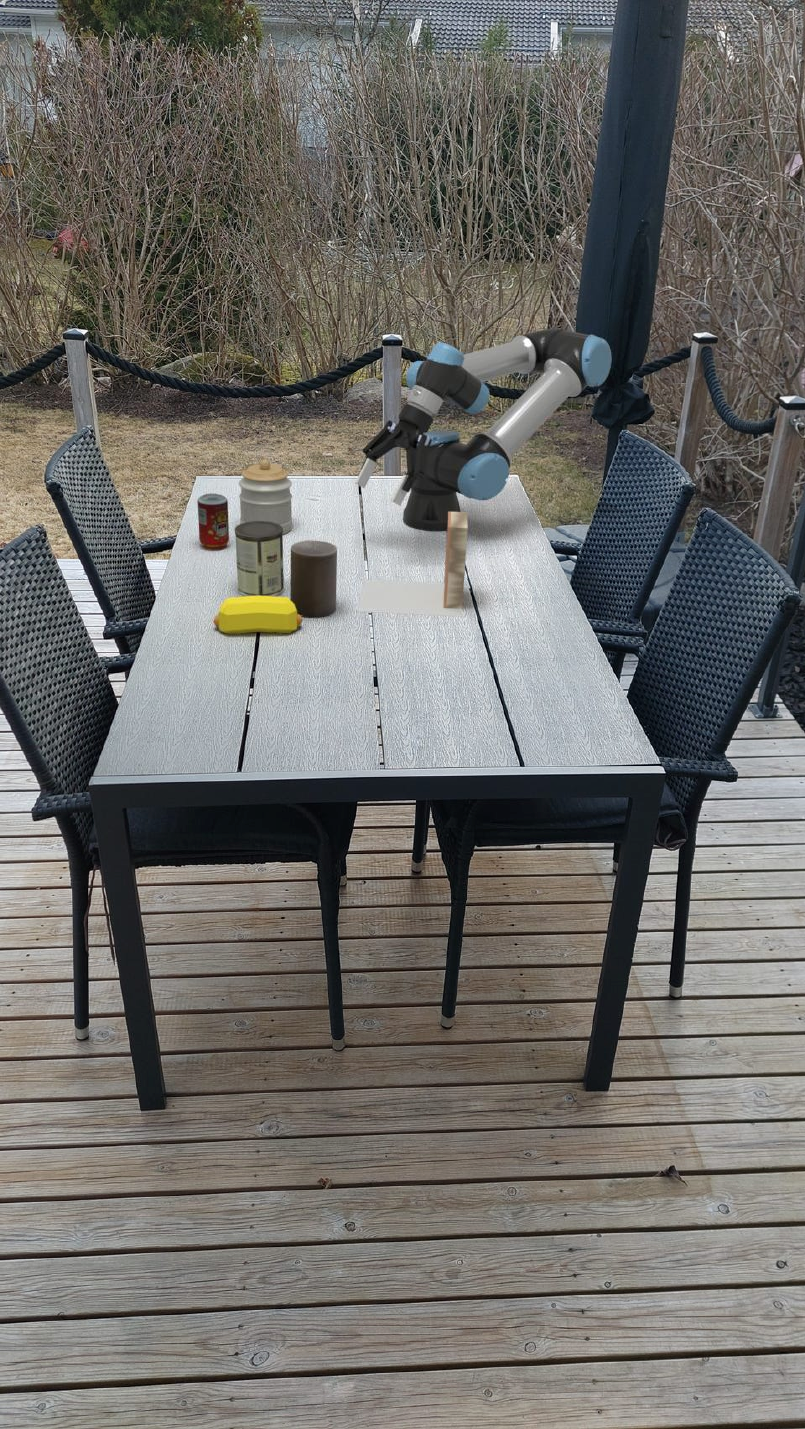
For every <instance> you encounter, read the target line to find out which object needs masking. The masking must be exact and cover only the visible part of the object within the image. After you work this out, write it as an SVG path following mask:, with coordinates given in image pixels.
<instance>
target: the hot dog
mask: <svg viewBox="0 0 805 1429" xmlns="http://www.w3.org/2000/svg"><path fill="white" fill-rule="evenodd" d="M212 621H213V624H214V625H215V627H216V628H218V629H219V631H220V632H222V633H223V634H229V635H232V634H234V635H235V634H248V633H272V632H273V633H274V632H278V634H289V632H290V633H292V632H294V631H297V628H298V627H299V626H301V625H302V622H303V618H302V616H301V615H299V614H297V610H296V607H295V604H294V603H293V602H292V601H291V600H290V598H289V597H287V596H286V597H285V596H275V597H274V596H235V597H227V598H226V599H225V600H224V601H223V602H222V603H221V604H220V606H219V610H218V613H217V615H215V616H214V619H213V620H212ZM273 633H272V634H273Z"/></svg>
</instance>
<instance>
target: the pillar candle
mask: <svg viewBox="0 0 805 1429" xmlns="http://www.w3.org/2000/svg"><path fill="white" fill-rule="evenodd" d="M337 567H338V547H337V545H335V544H332V543H331V542H328V541H322V540H313V539H312V540H311V539H307V540H302V541H297V542H295V543H293V544H292V545H291V547H290V580H289V581H290V583H289V584H290V595H289V596H290V598H289V599H290V600H291V601H292V602H293V603H294V604H295V607H296V610H297V614H299V615H300V616H301V617H305V618H309V619H311V618H315V619H316V618H324V617H328V616H332V615H333V614H334V613H335V612H336V610H337V581H338V580H337V579H338V578H337V577H338V576H337V574H338V573H337V571H338V569H337Z"/></svg>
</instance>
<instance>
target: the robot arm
mask: <svg viewBox="0 0 805 1429" xmlns="http://www.w3.org/2000/svg"><path fill="white" fill-rule="evenodd" d="M611 364H612V351H611V348H610V345H609V343H608V342H607V340H606V339H604V338H602V337H598V336H596V335H594V334H586V333H580V332H578V331H577V332H576V331H572V330H569V329H566V328H565V329H564V328H560V327H558V328H556V327H554V328H545V329H541V330H536V331H533V332H529V333H523V334H520V335H517V336H515V337H514V338H512V340H511V341H510V342H507V343H502V344H498V345H496V346H492V347H487V348H484V349H479V350H476V351H472V352H468V353H464V354H463V353H462V351H460V349H457V348H455V346H452V345H451V344H449V343H445V342H439V341H438V342H437V343H435V345H434V346H433V348H432V350H431V351H430V353H429V355H428V356H427V357H426V360H423V361H421V360H417V361H414V362H413V363H411V364H410V365H409V367H408V369H407V370H406V375H405V379H406V384H407V387H408V389H409V390H410V393H409V395H408V397H407V398H406V402H407V403H405V404H403V406H402V409H400V410H401V411H400V413H399V414H398V422H397V424H396V423H395V422H393V421H391V420H388V421H386V423H385V425H384V427H383V428H382V429H381V430H380V431H379V432H378V433H377V434H376V436H374V437H373V438H372V440H370V441H369V443H368V444H366V445H365V446H364V448H363V449H362V453H363V454H364V455H365V460H364V461H363V463H362V466H361V467H360V472H359V474H358V476H357V478H356V480H355V482H354V484H355V485H357V486H359V487H361V488H363V489H365V488H366V486H367V484H368V482H369V480H370V478H371V476H372V475H373V472H374V470H375V469H376V467H377V464H378V461H377V460H379V459H380V458H382V457H383V456H384V455H385V454H387V453H389V452H390V451H391V450H393V449H395V448H400V449H404V450H405V455H406V458H405V459H406V470H407V471H406V472H405V473H404V474H403V476H402V478H401V479H400V482H399V484H398V485H397V487H396V488H395V492H394V493H393V495H392V498H391V500H390V501H391V502H393V503H394V504H396V505H398V506H400V507H401V506H402V503H403V502H404V500H405V497H406V496H407V494H408V493H409V492H410V493H409V496H408V499H407V502H406V505H405V508H404V509H403V513H402V521H403V522H404V524H405V525H407V526H409V527H411V528H414V529H418V530H423V531H434V532H435V531H437V532H438V531H447V523H448V512H462V511H461V506H460V502H459V500H458V495H457V494H459V495H463V496H464V497H466V498H468V499H473V500H477V501H489V500H491V499H494V498H495V497H496V496H498V495H499V494H500V493H501V492H502V491H503V489H504V488H505V487H506V485H507V479H509V476H510V468H511V466H512V460H511V458H512V457H513V456H514V455H515V454H516V453H517V452H518V451H519V450H520V448H522V446H524V444H525V443H526V442H527V441H529V439H530V438H531V436H533V435H534V434H535V433H536V432H537V431H538V429H539V428H540V427H542V426H543V424H544V423H545V422H546V421H547V420H548V419H549V417H551V416H552V415H553V414H554V413H555V411H556V410H557V409H558V408H559V407H560V406H561V405H562V404H563V403H564V402H565V401H566V400H567V399H568V397H571V398H574V397H578V396H579V395H580V394H581V393H582V392H583V391H584V389H585V388H586V387H588V386H589V387H591V388H594V387H599V386H601V385H602V384H603V383H604V382H605V381H606V380H607V378H608V376H609V374H610V370H611V367H612V366H611ZM515 373H519V374H521V375H527V374H532V373H538V374H541V375H540V376H539V377H538V378H537V379H536V380H535V381H534V382H533V383H532V385H531V386H530V387H528V389H527V390H526V391H524V392H523V394H522V395H521V396H520V397H519V398H518V399H517V400H516V401H515V402H514V403H513V404H512V405H511V406H510V407H509V408H508V409H507V411H505V413H504V414H502V416H501V417H500V418H499V419H498V420H497V421H495V423H494V424H493V425H492V426H491V427H490V428H489V429H488V430H487V431H486V432H477V433H476V434H475V435H473V437H472V438H471V439H470V440H469V441H468V442H467V443H463V442H460V441H461V437H460V432H457V431H455V430H442V429H441V430H430V428H431V426H432V424H433V422H434V417H436V416H437V415H438V412H439V411H440V408H441V407H442V405H443V402H444V403H448V404H451V405H454V406H457V407H458V408H460V409H461V410H463V412H464V411H465V412H466V413H468V414H471V415H475V414H478V413H480V412H481V411H483V410H484V409H485V408H486V406H487V404H488V403H489V400H490V389H489V387H487V385H486V384H485V383H484V382H487V381H491V380H494V379H498V378H502V377H505V376H509V375H512V374H515ZM429 430H430V431H429Z"/></svg>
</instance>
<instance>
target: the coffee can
mask: <svg viewBox="0 0 805 1429" xmlns="http://www.w3.org/2000/svg"><path fill="white" fill-rule="evenodd" d="M234 534H235V550H236V552H235V553H236V554H235V555H236V576H237V578H236V579H237V592H238V593H239V594H240V595H241V596H242V597H245V596H274V597H279V595H281V594H282V593H283V592H284V591H285V586H284V584H285V580H284V579H285V578H284V576H285V575H284V547H283V546H284V544H283V540H284V539H283V538H284V537H283V536H284V534H283V527H282V526H281V525H279V524H277V523H273V522H268V521H251V522H246V523H242V524H240V523H239V524H238V525H236V526H235V527H234Z"/></svg>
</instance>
